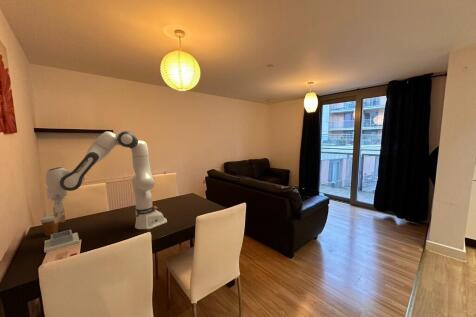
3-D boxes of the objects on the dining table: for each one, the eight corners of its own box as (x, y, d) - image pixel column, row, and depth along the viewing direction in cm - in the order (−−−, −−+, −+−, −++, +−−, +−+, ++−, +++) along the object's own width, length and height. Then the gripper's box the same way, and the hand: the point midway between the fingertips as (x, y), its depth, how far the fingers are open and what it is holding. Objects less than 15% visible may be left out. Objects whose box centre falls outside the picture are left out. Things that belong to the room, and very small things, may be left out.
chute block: (65, 218, 127) (63, 205, 127) (65, 221, 124) (64, 207, 123) (54, 221, 124) (53, 207, 123) (54, 223, 120) (53, 209, 120)
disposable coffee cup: (55, 229, 144) (54, 213, 143) (63, 231, 141) (62, 215, 139) (38, 235, 135) (37, 218, 134) (47, 238, 132) (45, 220, 131)
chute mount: (77, 234, 136) (76, 226, 136) (79, 242, 125) (78, 234, 125) (45, 243, 125) (44, 234, 125) (44, 252, 114) (43, 243, 114)
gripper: (64, 196, 117) (66, 218, 118) (63, 189, 132) (65, 210, 133) (50, 198, 113) (52, 221, 114) (50, 191, 127) (52, 212, 129)
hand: (59, 215), depth 124 cm, fingers closed on chute block, 5 cm apart
